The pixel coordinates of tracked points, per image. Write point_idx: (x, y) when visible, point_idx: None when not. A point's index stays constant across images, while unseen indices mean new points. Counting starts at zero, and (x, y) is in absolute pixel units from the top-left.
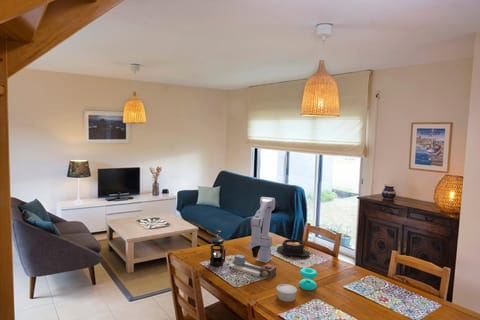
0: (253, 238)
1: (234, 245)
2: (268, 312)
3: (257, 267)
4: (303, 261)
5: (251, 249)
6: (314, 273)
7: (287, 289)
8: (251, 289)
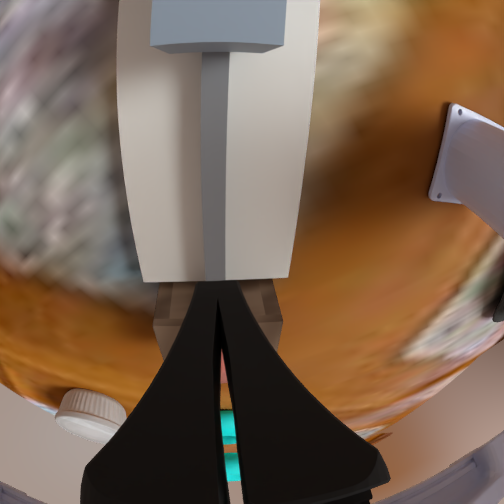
0: None
1: None
2: (4, 381)
3: (213, 248)
4: (464, 324)
5: (128, 426)
6: None
7: (88, 433)
8: (8, 309)
